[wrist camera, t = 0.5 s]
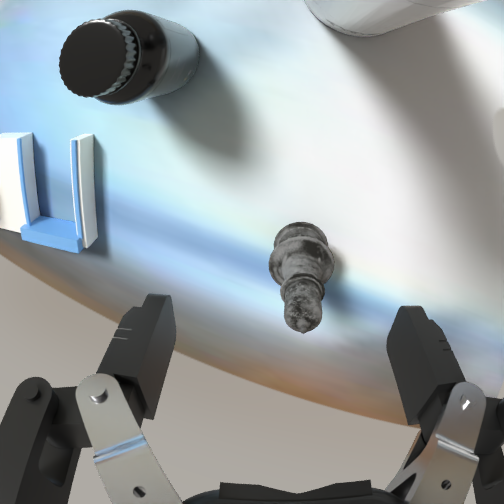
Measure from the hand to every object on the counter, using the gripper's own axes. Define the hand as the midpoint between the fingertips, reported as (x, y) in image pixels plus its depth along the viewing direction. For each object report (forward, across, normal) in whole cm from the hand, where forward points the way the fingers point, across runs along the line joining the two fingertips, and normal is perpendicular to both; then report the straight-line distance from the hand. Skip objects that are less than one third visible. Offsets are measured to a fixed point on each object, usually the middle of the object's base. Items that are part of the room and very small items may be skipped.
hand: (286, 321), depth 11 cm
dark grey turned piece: (+20, -3, +8) cm, 22 cm away
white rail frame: (+22, +30, +1) cm, 37 cm away
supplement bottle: (+21, +10, -9) cm, 25 cm away
